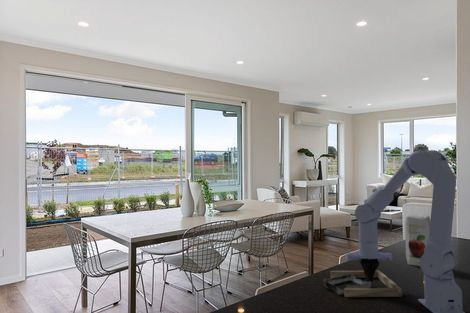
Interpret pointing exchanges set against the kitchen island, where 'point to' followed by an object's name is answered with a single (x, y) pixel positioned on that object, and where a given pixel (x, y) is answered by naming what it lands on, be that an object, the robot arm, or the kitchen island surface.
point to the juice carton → (416, 237)
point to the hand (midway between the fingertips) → (369, 281)
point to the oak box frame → (391, 291)
